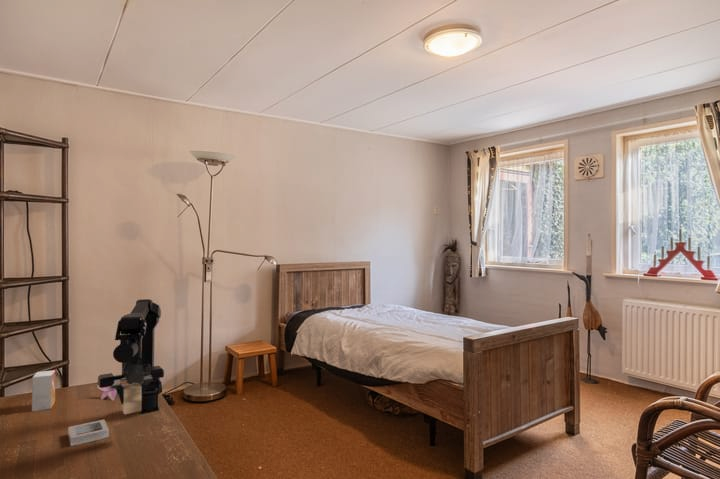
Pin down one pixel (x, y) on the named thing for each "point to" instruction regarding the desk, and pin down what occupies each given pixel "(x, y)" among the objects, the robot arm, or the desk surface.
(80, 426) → the rectangular frame
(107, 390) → the lily
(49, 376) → the small box
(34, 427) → the desk surface
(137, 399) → the peg
